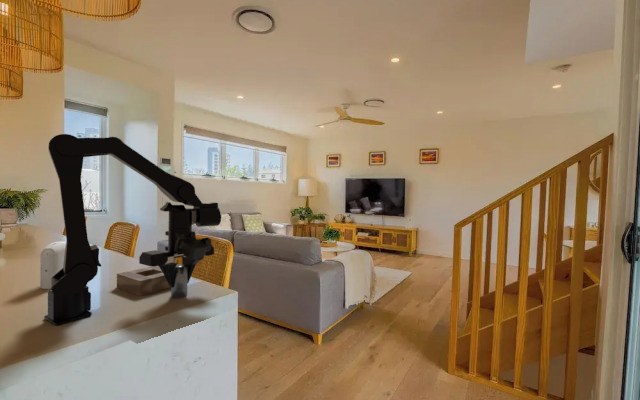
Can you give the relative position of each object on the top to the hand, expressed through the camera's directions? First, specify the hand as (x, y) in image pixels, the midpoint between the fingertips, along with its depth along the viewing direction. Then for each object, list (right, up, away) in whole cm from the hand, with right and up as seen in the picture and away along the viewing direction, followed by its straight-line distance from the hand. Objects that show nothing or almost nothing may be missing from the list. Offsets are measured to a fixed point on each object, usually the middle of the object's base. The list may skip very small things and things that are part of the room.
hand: (179, 285), depth 82 cm
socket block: (-12, -2, +7) cm, 14 cm away
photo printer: (-39, -2, +7) cm, 40 cm away
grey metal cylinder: (0, -3, 0) cm, 3 cm away
